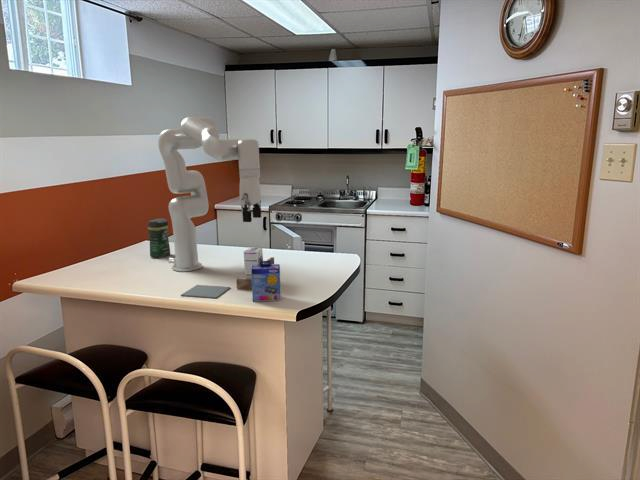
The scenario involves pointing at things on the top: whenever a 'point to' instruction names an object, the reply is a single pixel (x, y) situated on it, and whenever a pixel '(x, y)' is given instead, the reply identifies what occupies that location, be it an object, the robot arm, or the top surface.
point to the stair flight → (247, 283)
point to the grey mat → (206, 291)
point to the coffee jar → (158, 238)
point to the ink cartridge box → (266, 282)
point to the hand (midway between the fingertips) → (252, 219)
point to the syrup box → (252, 260)
